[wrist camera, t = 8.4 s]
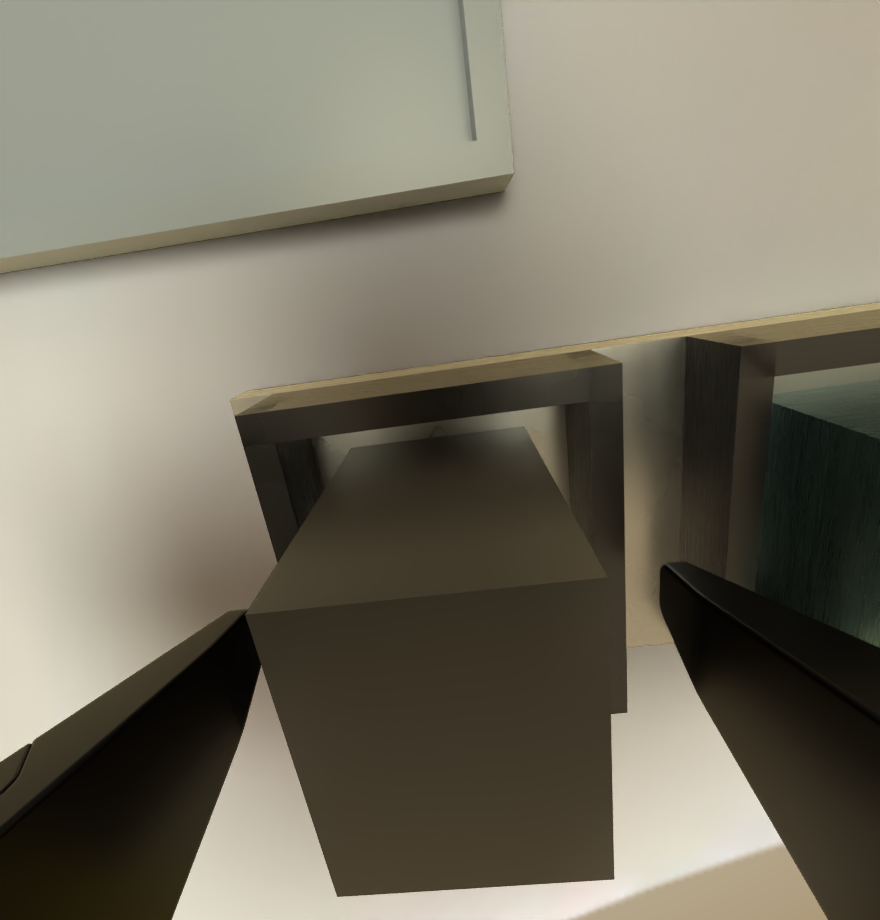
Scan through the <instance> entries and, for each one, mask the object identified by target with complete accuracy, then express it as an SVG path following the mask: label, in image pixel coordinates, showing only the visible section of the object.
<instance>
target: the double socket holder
mask: <svg viewBox="0 0 880 920" xmlns="http://www.w3.org/2000/svg"><path fill="white" fill-rule="evenodd" d="M230 402H231V405H232V409H233V412H234V416H235V420H236V423H237V426H238V430H239V433H240V437H241V440H242V443H243V447H244V450H245V454H246V457H247V460H248V464H249V467H250V471H251V474H252V477H253V481H254V484H255V488H256V491H257V494H258V498H259V501H260V505H261V508H262V511H263V515H264V518H265V521H266V525H267V528H268V532H269V535H270V538H271V542H272V545H273V549H274V552H275V555H276V559H277V562H279V560H280V559H281V557H282V556H283V554H284V553H285V551H286V549H287V548H288V546H289V545H290V543H291V542H292V540H293V538H294V537H295V535H296V534H297V532H298V531H299V529H300V527H301V526H302V524H303V523H304V521H305V519H306V518H307V516H308V515H309V513H310V512H311V510H312V508H313V507H314V505H315V504H316V502H317V501H318V499H319V497H320V496H321V494H322V493H323V491H324V490H325V488H326V486H327V485H328V483H329V482H330V480H331V478H332V477H333V475H334V474H335V472H336V471H337V469H338V467H339V466H340V464H341V463H342V461H343V460H344V458H345V456H346V455H347V453H348V452H349V450H350V449H351V448H354V447H362V446H370V445H378V444H386V443H394V442H402V441H410V440H418V439H426V438H434V437H442V436H450V435H458V434H466V433H474V432H482V431H490V430H498V429H506V428H514V427H522V426H524V427H525V428H526V430H527V432H528V434H529V436H530V438H531V439H532V441H533V443H534V445H535V447H536V448H537V450H538V452H539V454H540V456H541V457H542V459H543V461H544V463H545V465H546V466H547V468H548V470H549V472H550V474H551V476H552V477H553V479H554V481H555V483H556V485H557V486H558V488H559V490H560V492H561V494H562V495H563V497H564V499H565V501H566V503H567V504H568V506H569V508H570V510H571V512H572V513H573V515H574V517H575V519H576V521H577V523H578V524H579V526H580V528H581V530H582V532H583V533H584V535H585V537H586V539H587V541H588V542H589V544H590V546H591V548H592V550H593V551H594V553H595V555H596V557H597V559H598V561H599V562H600V564H601V566H602V568H603V570H604V571H605V573H606V575H607V577H608V612H609V659H610V707H611V714H616V713H627V658H626V648H628V647H638V646H649V645H659V644H669V643H674V641H673V638H672V636H671V634H670V632H669V629H668V627H667V625H666V623H665V620H664V618H663V616H662V613H661V610H660V604H659V584H660V568H661V566H662V565H663V564H665V563H672V562H681V561H684V562H688V563H690V564H692V565H695V566H697V567H699V568H701V569H704V570H706V571H708V572H710V573H713V574H715V575H717V576H719V577H722V578H724V579H726V580H728V581H731V582H733V583H735V584H737V585H740V586H742V587H744V588H746V589H749V590H751V591H753V592H755V593H758V594H760V595H762V596H764V597H767V598H769V599H771V600H774V601H776V602H778V603H780V604H783V605H785V606H787V607H789V608H792V609H794V610H796V611H798V612H801V613H803V614H805V615H807V616H810V617H812V618H814V619H816V620H819V621H821V622H823V623H825V624H828V625H830V626H832V627H834V628H837V629H839V630H841V631H843V632H846V633H848V634H850V635H852V636H855V637H857V638H859V639H861V640H864V641H866V642H868V643H870V644H873V645H875V646H877V647H880V302H878V303H871V304H864V305H857V306H850V307H842V308H835V309H828V310H821V311H814V312H807V313H800V314H793V315H786V316H778V317H771V318H764V319H757V320H750V321H743V322H736V323H729V324H722V325H715V326H707V327H700V328H693V329H686V330H679V331H672V332H665V333H658V334H651V335H643V336H636V337H629V338H622V339H615V340H608V341H601V342H594V343H587V344H580V345H572V346H565V347H558V348H551V349H544V350H537V351H530V352H523V353H516V354H508V355H501V356H494V357H487V358H480V359H473V360H466V361H459V362H452V363H445V364H437V365H430V366H423V367H416V368H409V369H402V370H395V371H388V372H381V373H373V374H366V375H359V376H352V377H345V378H338V379H331V380H324V381H317V382H310V383H302V384H295V385H288V386H281V387H274V388H267V389H260V390H253V391H247V392H245V393H243V394H241V395H239V396H237V397H235V398H233V399H231V400H230Z"/></svg>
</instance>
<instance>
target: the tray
mask: <svg viewBox="0 0 880 920" xmlns="http://www.w3.org/2000/svg"><path fill="white" fill-rule="evenodd" d="M513 174H514V167H513V155H512V142H511V129H510V117H509V104H508V91H507V78H506V66H505V53H504V40H503V28H502V15H501V2H500V0H0V273H6V272H13V271H19V270H25V269H31V268H37V267H43V266H49V265H55V264H61V263H68V262H74V261H80V260H86V259H92V258H98V257H104V256H110V255H116V254H123V253H129V252H135V251H141V250H147V249H153V248H159V247H165V246H172V245H178V244H184V243H190V242H196V241H202V240H208V239H214V238H220V237H227V236H233V235H239V234H245V233H251V232H257V231H263V230H269V229H275V228H282V227H288V226H294V225H300V224H306V223H312V222H318V221H324V220H331V219H337V218H343V217H349V216H355V215H361V214H367V213H373V212H379V211H386V210H392V209H398V208H404V207H410V206H416V205H422V204H428V203H434V202H441V201H447V200H453V199H459V198H465V197H471V196H477V195H483V194H490V193H496V192H502V191H505V189H506V187H507V185H508V183H509V181H510V180H511V178H512V176H513Z"/></svg>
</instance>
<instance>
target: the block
mask: <svg viewBox="0 0 880 920" xmlns="http://www.w3.org/2000/svg"><path fill="white" fill-rule="evenodd" d="M245 616H246V619H247V622H248V625H249V628H250V631H251V635H252V638H253V641H254V644H255V647H256V650H257V653H258V656H259V659H260V662H261V665H262V668H263V671H264V674H265V677H266V680H267V683H268V686H269V690H270V693H271V696H272V699H273V702H274V705H275V708H276V711H277V714H278V717H279V720H280V723H281V726H282V729H283V732H284V735H285V738H286V741H287V745H288V748H289V751H290V754H291V757H292V760H293V763H294V766H295V769H296V772H297V775H298V778H299V781H300V784H301V787H302V790H303V793H304V796H305V800H306V803H307V806H308V809H309V812H310V815H311V818H312V821H313V824H314V827H315V830H316V833H317V836H318V839H319V842H320V845H321V848H322V851H323V854H324V858H325V861H326V864H327V867H328V870H329V873H330V876H331V879H332V882H333V885H334V888H335V891H336V894H337V897H342V896H358V895H374V894H389V893H405V892H421V891H437V890H453V889H469V888H485V887H500V886H516V885H532V884H548V883H564V882H580V881H595V880H611V879H614V850H613V802H612V755H611V707H610V659H609V612H608V577H607V575H606V573H605V571H604V570H603V568H602V566H601V564H600V562H599V561H598V559H597V557H596V555H595V553H594V551H593V550H592V548H591V546H590V544H589V542H588V541H587V539H586V537H585V535H584V533H583V532H582V530H581V528H580V526H579V524H578V523H577V521H576V519H575V517H574V515H573V513H572V512H571V510H570V508H569V506H568V504H567V503H566V501H565V499H564V497H563V495H562V494H561V492H560V490H559V488H558V486H557V485H556V483H555V481H554V479H553V477H552V476H551V474H550V472H549V470H548V468H547V466H546V465H545V463H544V461H543V459H542V457H541V456H540V454H539V452H538V450H537V448H536V447H535V445H534V443H533V441H532V439H531V438H530V436H529V434H528V432H527V430H526V428H525V427H524V426H522V427H514V428H506V429H498V430H490V431H482V432H474V433H466V434H458V435H450V436H442V437H434V438H426V439H418V440H410V441H402V442H394V443H386V444H378V445H370V446H362V447H354V448H351V449H350V450H349V452H348V453H347V455H346V456H345V458H344V460H343V461H342V463H341V464H340V466H339V467H338V469H337V471H336V472H335V474H334V475H333V477H332V478H331V480H330V482H329V483H328V485H327V486H326V488H325V490H324V491H323V493H322V494H321V496H320V497H319V499H318V501H317V502H316V504H315V505H314V507H313V508H312V510H311V512H310V513H309V515H308V516H307V518H306V519H305V521H304V523H303V524H302V526H301V527H300V529H299V531H298V532H297V534H296V535H295V537H294V538H293V540H292V542H291V543H290V545H289V546H288V548H287V549H286V551H285V553H284V554H283V556H282V557H281V559H280V560H279V562H278V564H277V565H276V567H275V568H274V570H273V571H272V573H271V575H270V576H269V578H268V579H267V581H266V583H265V584H264V586H263V587H262V589H261V590H260V592H259V594H258V595H257V597H256V598H255V600H254V601H253V603H252V605H251V606H250V608H249V609H248V611H247V612H246V614H245Z"/></svg>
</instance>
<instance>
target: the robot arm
mask: <svg viewBox="0 0 880 920" xmlns="http://www.w3.org/2000/svg"><path fill="white" fill-rule="evenodd" d="M659 604H660V610H661V613H662V616H663V618H664V620H665V623H666V625H667V627H668V629H669V632H670V634H671V636H672V638H673V641H674V643H675V645H676V647H677V650H678V652H679V654H680V656H681V659H682V661H683V663H684V666H685V668H686V670H687V672H688V675H689V677H690V679H691V681H692V683H693V685H694V688H695V690H696V692H697V694H698V695H699V697H700V699H701V701H702V703H703V705H704V706H705V708H706V710H707V712H708V713H709V715H710V717H711V719H712V720H713V722H714V724H715V725H716V727H717V729H718V731H719V732H720V734H721V736H722V738H723V739H724V741H725V743H726V744H727V746H728V748H729V750H730V751H731V753H732V755H733V757H734V758H735V760H736V762H737V763H738V765H739V767H740V769H741V770H742V772H743V774H744V776H745V777H746V779H747V781H748V782H749V784H750V786H751V788H752V789H753V791H754V793H755V795H756V796H757V798H758V800H759V801H760V803H761V805H762V807H763V808H764V810H765V812H766V814H767V815H768V817H769V819H770V820H771V822H772V824H773V826H774V827H775V829H776V831H777V833H778V834H779V836H780V838H781V839H782V841H783V843H784V845H785V846H786V848H787V850H788V852H789V853H790V855H791V857H792V858H793V860H794V862H795V864H796V865H797V867H798V869H799V870H800V872H801V874H802V876H803V877H804V879H805V881H806V883H807V884H808V886H809V888H810V889H811V891H812V893H813V895H814V896H815V898H816V900H817V902H818V903H819V905H820V907H821V909H822V910H823V912H824V913H825V915H826V917H827V919H828V920H880V647H877V646H875V645H873V644H870V643H868V642H866V641H864V640H861V639H859V638H857V637H855V636H852V635H850V634H848V633H846V632H843V631H841V630H839V629H837V628H834V627H832V626H830V625H828V624H825V623H823V622H821V621H819V620H816V619H814V618H812V617H810V616H807V615H805V614H803V613H801V612H798V611H796V610H794V609H792V608H789V607H787V606H785V605H783V604H780V603H778V602H776V601H774V600H771V599H769V598H767V597H764V596H762V595H760V594H758V593H755V592H753V591H751V590H749V589H746V588H744V587H742V586H740V585H737V584H735V583H733V582H731V581H728V580H726V579H724V578H722V577H719V576H717V575H715V574H713V573H710V572H708V571H706V570H704V569H701V568H699V567H697V566H695V565H692V564H690V563H688V562H684V561H681V562H672V563H665V564H663V565H662V566H661V568H660V584H659ZM247 611H248V609H244V610H235V611H229V612H227V613H225V614H224V615H222V616H221V617H219V618H218V619H216V620H215V621H213V622H212V623H210V624H209V625H207V626H206V627H204V628H203V629H201V630H200V631H198V632H197V633H195V634H194V635H192V636H191V637H189V638H188V639H186V640H185V641H183V642H182V643H180V644H179V645H177V646H175V647H174V648H172V649H171V650H169V651H168V652H166V653H165V654H163V655H162V656H160V657H159V658H157V659H156V660H154V661H153V662H151V663H150V664H148V665H147V666H145V667H144V668H142V669H141V670H139V671H138V672H136V673H135V674H133V675H132V676H130V677H129V678H127V679H126V680H124V681H123V682H121V683H120V684H118V685H116V686H115V687H113V688H112V689H110V690H109V691H107V692H106V693H104V694H103V695H101V696H100V697H98V698H97V699H95V700H94V701H92V702H91V703H89V704H88V705H86V706H85V707H83V708H82V709H80V710H79V711H77V712H76V713H74V714H73V715H71V716H70V717H68V718H67V719H65V720H64V721H62V722H61V723H59V724H57V725H56V726H54V727H53V728H51V729H50V730H48V731H47V732H45V733H44V734H42V735H41V736H39V737H38V738H36V739H35V740H34V741H33V743H32V744H27V745H25V746H24V747H22V748H21V749H19V750H18V751H16V752H15V753H13V754H12V755H10V756H9V757H7V758H6V759H4V760H3V761H1V762H0V920H172V917H173V915H174V912H175V909H176V907H177V904H178V902H179V899H180V896H181V894H182V891H183V888H184V886H185V883H186V881H187V878H188V875H189V873H190V870H191V868H192V865H193V862H194V860H195V857H196V854H197V852H198V849H199V847H200V844H201V841H202V839H203V836H204V833H205V831H206V828H207V826H208V823H209V820H210V818H211V815H212V812H213V810H214V807H215V805H216V802H217V799H218V797H219V794H220V792H221V789H222V786H223V784H224V781H225V778H226V776H227V773H228V771H229V768H230V765H231V763H232V760H233V757H234V755H235V752H236V750H237V747H238V744H239V741H240V739H241V736H242V733H243V730H244V726H245V723H246V720H247V716H248V712H249V709H250V705H251V701H252V697H253V694H254V690H255V686H256V683H257V679H258V675H259V672H260V668H261V662H260V659H259V656H258V653H257V650H256V647H255V644H254V641H253V638H252V635H251V631H250V628H249V625H248V622H247V619H246V616H245V614H246V612H247Z"/></svg>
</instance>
